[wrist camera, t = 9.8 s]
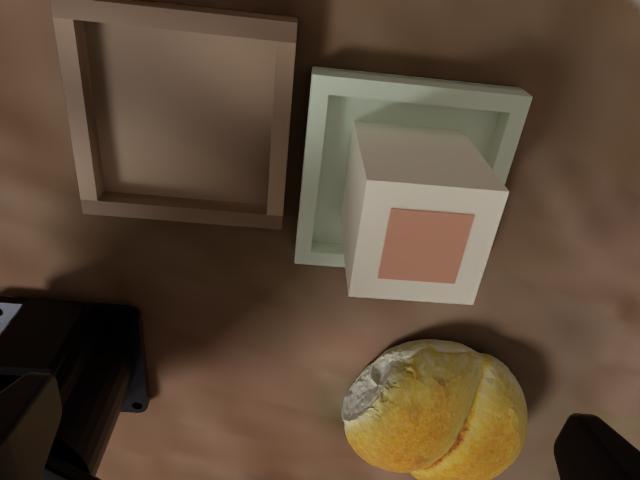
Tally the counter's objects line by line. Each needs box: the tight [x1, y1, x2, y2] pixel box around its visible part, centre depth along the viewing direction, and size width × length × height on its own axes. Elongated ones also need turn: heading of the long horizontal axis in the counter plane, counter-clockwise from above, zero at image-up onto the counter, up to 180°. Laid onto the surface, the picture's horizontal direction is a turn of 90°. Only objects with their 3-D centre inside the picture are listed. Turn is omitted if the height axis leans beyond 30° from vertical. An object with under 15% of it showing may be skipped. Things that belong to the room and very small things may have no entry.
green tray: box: [294, 66, 533, 267], centre depth 19 cm, size 7×7×1 cm
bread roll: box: [341, 339, 528, 480], centre depth 25 cm, size 8×9×4 cm
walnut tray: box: [50, 0, 298, 230], centre depth 18 cm, size 7×7×1 cm
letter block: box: [340, 121, 509, 305], centre depth 17 cm, size 4×4×5 cm
